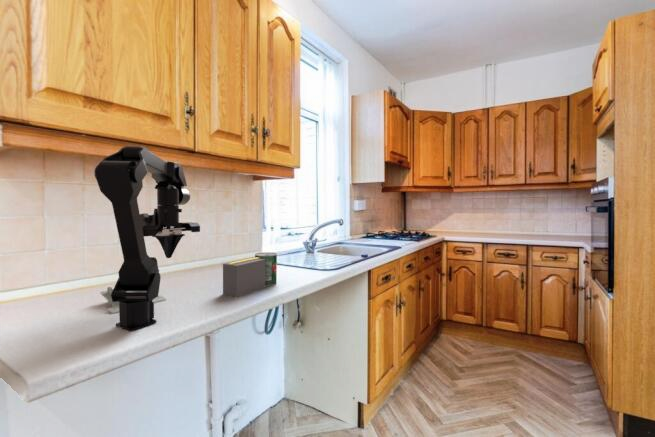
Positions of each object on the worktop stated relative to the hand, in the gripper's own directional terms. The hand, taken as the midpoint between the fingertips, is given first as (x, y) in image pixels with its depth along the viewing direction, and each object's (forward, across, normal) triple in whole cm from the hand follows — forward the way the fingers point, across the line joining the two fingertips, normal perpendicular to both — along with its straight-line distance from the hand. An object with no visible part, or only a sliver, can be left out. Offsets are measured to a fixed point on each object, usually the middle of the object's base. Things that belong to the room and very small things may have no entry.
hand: (168, 257), depth 98 cm
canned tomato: (+13, -32, +11) cm, 36 cm away
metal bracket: (+14, +7, -8) cm, 17 cm away
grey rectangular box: (+13, -21, +11) cm, 27 cm away
